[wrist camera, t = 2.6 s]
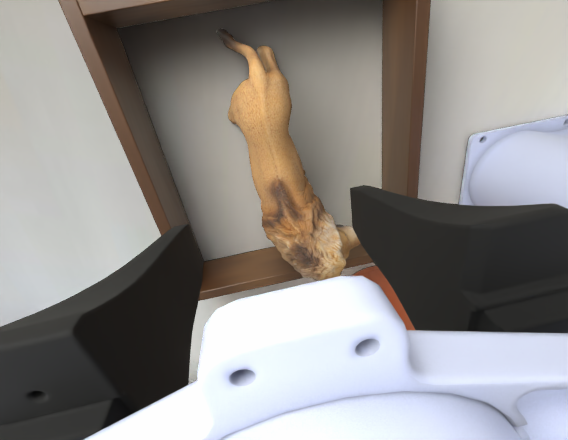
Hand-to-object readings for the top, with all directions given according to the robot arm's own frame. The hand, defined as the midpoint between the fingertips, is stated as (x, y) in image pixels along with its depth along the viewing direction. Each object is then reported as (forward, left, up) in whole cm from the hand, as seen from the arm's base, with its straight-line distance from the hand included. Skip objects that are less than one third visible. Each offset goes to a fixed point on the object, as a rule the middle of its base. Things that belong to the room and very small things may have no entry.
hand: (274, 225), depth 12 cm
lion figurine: (-1, -1, -10) cm, 10 cm away
